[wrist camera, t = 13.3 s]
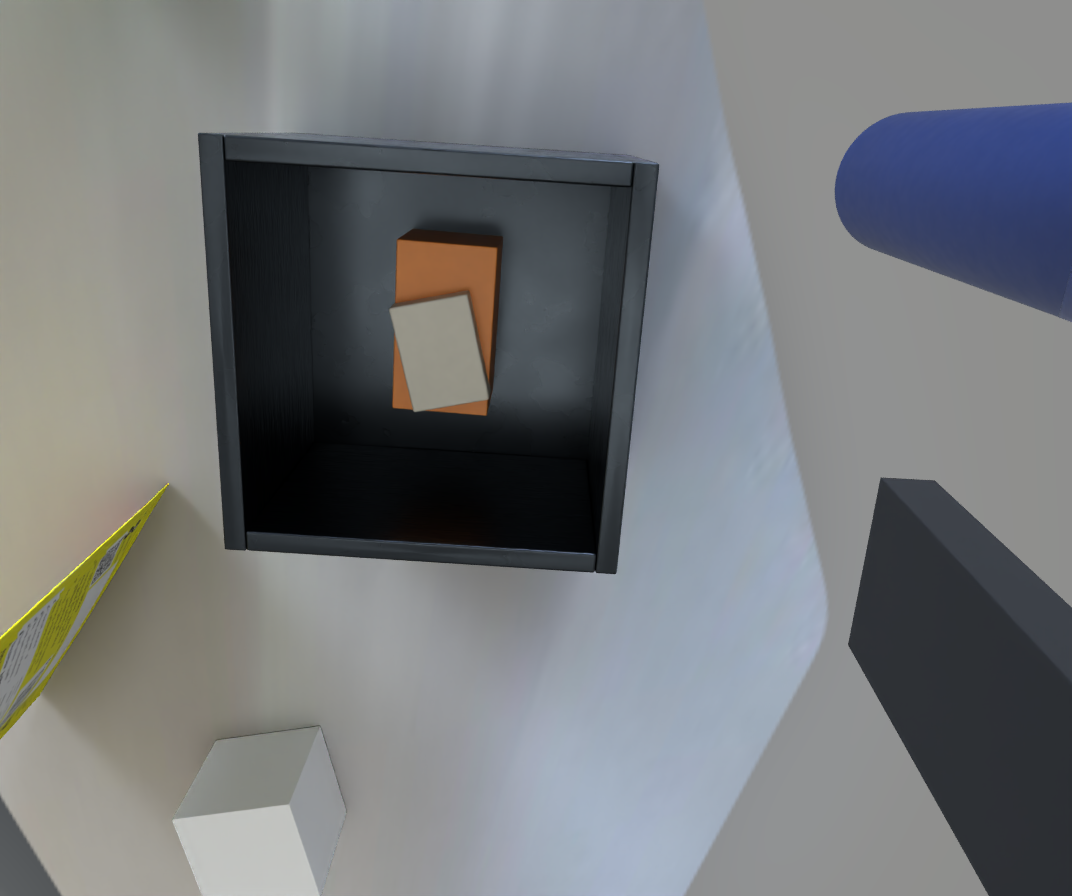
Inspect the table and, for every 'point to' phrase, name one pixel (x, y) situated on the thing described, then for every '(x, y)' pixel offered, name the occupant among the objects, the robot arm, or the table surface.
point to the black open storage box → (368, 349)
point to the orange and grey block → (445, 321)
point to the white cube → (263, 816)
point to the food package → (58, 621)
